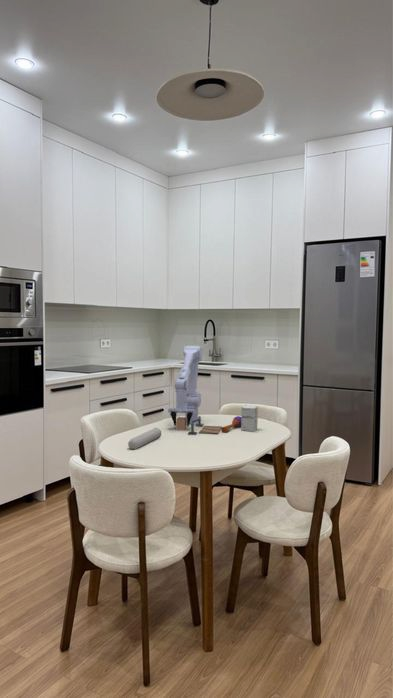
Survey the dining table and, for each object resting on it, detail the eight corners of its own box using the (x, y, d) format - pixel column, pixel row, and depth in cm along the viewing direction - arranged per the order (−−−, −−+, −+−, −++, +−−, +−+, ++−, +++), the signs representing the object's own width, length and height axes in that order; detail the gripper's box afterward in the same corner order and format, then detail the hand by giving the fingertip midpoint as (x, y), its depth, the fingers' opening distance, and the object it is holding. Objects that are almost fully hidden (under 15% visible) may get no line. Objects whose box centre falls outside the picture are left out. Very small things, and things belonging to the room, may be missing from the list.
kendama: (218, 424, 249) (234, 415, 266) (220, 435, 249) (236, 425, 266) (227, 424, 246) (244, 414, 263) (230, 435, 246) (246, 425, 263)
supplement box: (240, 430, 253) (241, 407, 252) (244, 427, 259) (244, 404, 259) (254, 431, 250) (254, 408, 249) (257, 429, 257) (258, 405, 256)
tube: (137, 442, 212) (162, 430, 235) (127, 437, 214) (153, 425, 237) (134, 453, 213) (159, 439, 236) (124, 448, 215) (151, 435, 238)
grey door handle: (196, 424, 266) (196, 415, 266) (203, 425, 265) (203, 415, 265) (187, 434, 243) (187, 424, 242) (195, 435, 242) (195, 424, 242)
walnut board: (204, 426, 261) (204, 425, 261) (222, 427, 259) (222, 426, 259) (198, 433, 246) (198, 432, 246) (217, 434, 244) (218, 433, 244)
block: (178, 428, 258) (178, 417, 258) (186, 428, 257) (186, 417, 257) (176, 429, 254) (176, 418, 253) (184, 430, 253) (184, 419, 253)
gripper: (166, 401, 252) (166, 427, 253) (193, 402, 249) (193, 428, 250) (169, 399, 259) (169, 424, 260) (196, 400, 256) (195, 425, 257)
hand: (181, 426), depth 255 cm, fingers open, 6 cm apart
